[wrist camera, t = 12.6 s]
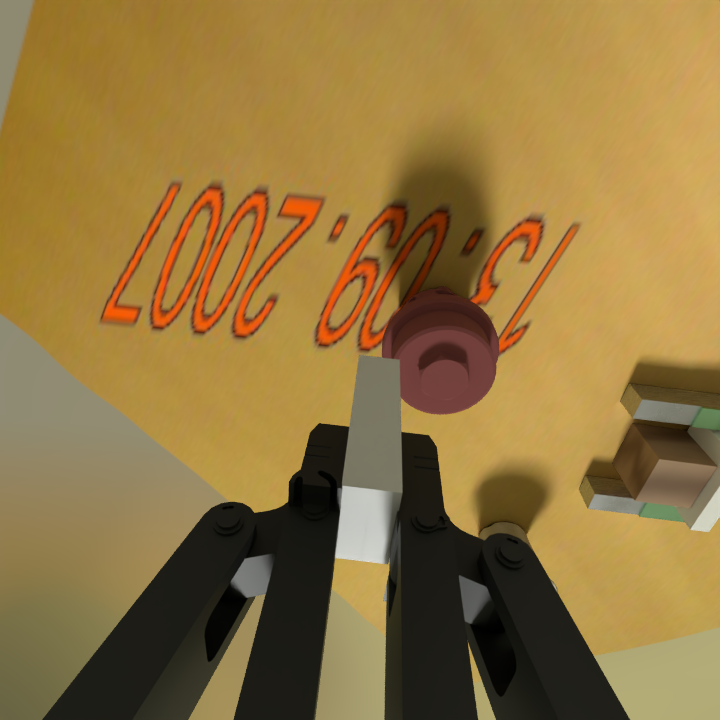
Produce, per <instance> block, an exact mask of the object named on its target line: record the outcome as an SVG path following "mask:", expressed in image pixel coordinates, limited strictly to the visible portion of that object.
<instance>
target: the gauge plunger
mask: <svg viewBox="0 0 720 720" xmlns="http://www.w3.org/2000/svg"><path fill="white" fill-rule="evenodd" d="M687 432H688V433H689V435H690V436H691V437H692V438H693V439H694V440H695V441H696V442H697V444H698V445H699V446H700V447H701V448H702V449H703V450H704V451H705V453H706V454H707V455H708V456H709V457H710V458H711V459H712V460H713V462H714V463H715V464H716V465H717V466H718V468H717V469H716V471H715V472H714V474H713V475H712V477H711V478H710V480H709V481H708V482H707V484H706V485H705V487H704V488H703V490H702V491H701V493H700V494H699V496H698V497H697V499H696V500H695V502H694V503H693V505H692V506H691V508H685V507H677V506H674V507H675V508H676V510H677V511H678V513H679V514H680V516H681V517H682V519H683V520H684V521H685V523H686V524H687V526H688V527H689V529H690V530H697V531H706V532H709V531H710V529H711V528H712V527H713V525H714V524H715V522H716V521H717V520H718V518H719V517H720V430H712V429H704V428H696V427H692V426H690V427H689V429H688V431H687Z"/></svg>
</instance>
